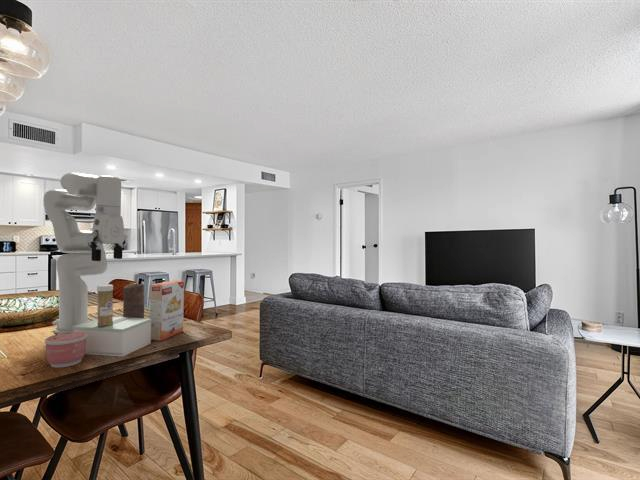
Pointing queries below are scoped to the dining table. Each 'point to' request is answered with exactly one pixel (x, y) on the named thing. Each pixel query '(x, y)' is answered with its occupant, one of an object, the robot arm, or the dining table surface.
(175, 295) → the cracker box
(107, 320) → the sprinkles bottle
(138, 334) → the box
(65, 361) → the container
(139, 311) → the candle
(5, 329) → the dining table surface
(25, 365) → the dining table surface
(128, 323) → the lid
